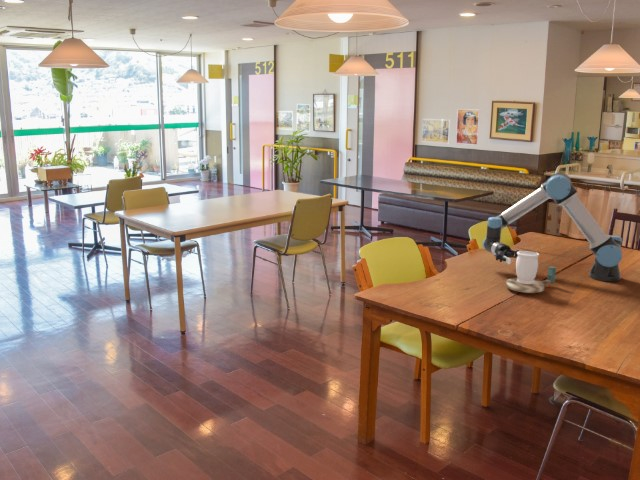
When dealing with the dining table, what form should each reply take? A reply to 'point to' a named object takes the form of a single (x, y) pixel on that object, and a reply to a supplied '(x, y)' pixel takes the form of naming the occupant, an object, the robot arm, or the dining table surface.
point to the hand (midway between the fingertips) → (522, 261)
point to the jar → (526, 266)
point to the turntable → (532, 288)
